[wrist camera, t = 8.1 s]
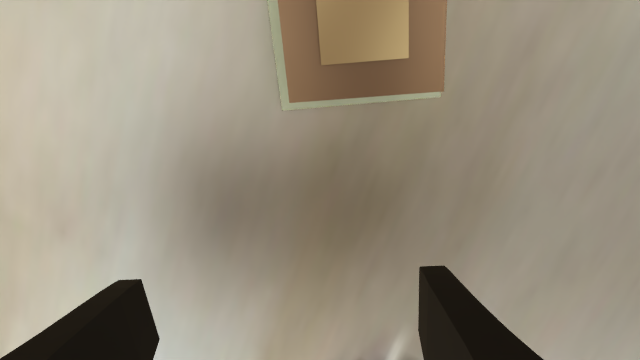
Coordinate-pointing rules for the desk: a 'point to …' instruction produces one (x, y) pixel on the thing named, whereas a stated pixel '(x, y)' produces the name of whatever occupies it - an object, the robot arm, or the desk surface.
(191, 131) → the desk surface
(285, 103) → the pad
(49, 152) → the desk surface
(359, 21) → the module block
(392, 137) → the desk surface
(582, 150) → the desk surface
